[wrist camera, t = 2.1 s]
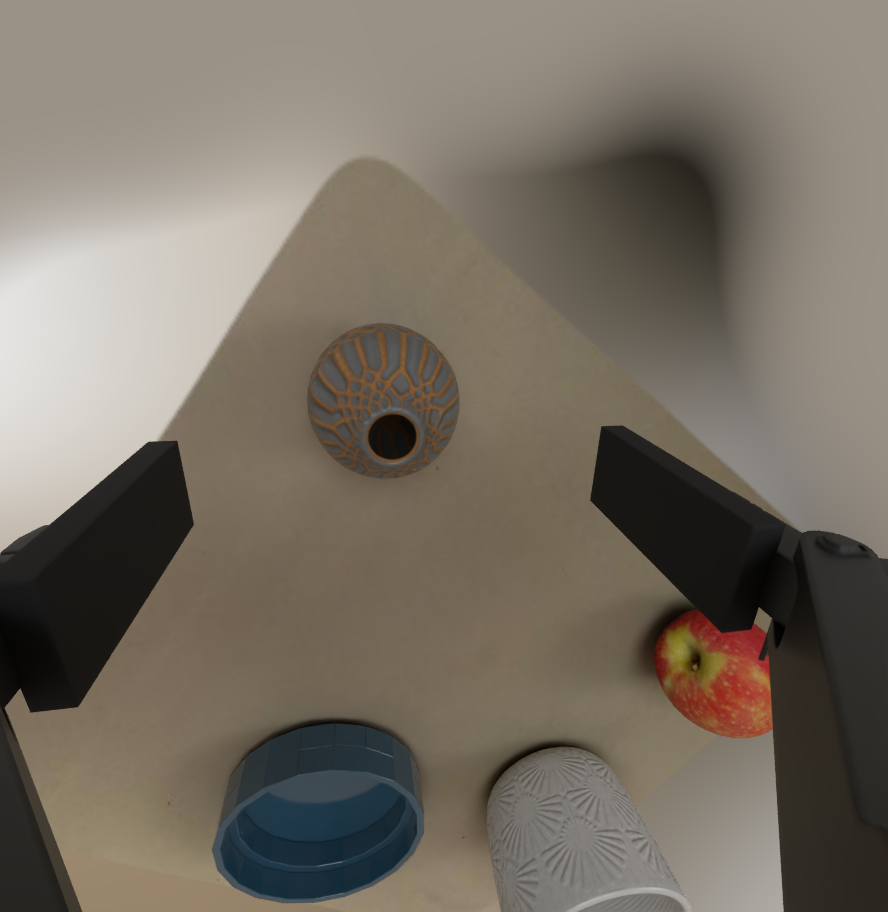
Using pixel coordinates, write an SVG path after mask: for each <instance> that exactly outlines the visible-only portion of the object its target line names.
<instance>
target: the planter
mask: <svg viewBox="0 0 888 912" xmlns="http://www.w3.org/2000/svg"><path fill="white" fill-rule="evenodd" d="M487 832H488V841H489V849H490V856H491V861H492V867H493V873H494V878H495V884H496V889H497V894H498V899H499V904H500V909H501V912H692V909H691V906H690V903H689V901H688V899H687V898H686V896H685V894H684V892H683V890H682V889H681V887H680V885H679V883H678V881H677V879H676V878H675V876H674V874H673V872H672V871H671V869H670V867H669V865H668V863H667V861H666V860H665V858H664V856H663V854H662V852H661V850H660V849H659V847H658V845H657V843H656V842H655V840H654V838H653V836H652V834H651V832H650V831H649V829H648V827H647V825H646V823H645V822H644V820H643V818H642V816H641V815H640V813H639V812H638V810H637V808H636V806H635V804H634V803H633V801H632V799H631V798H630V796H629V795H628V793H627V791H626V790H625V788H624V787H623V785H622V784H621V782H620V781H619V779H618V778H617V776H616V775H615V774H614V772H613V771H612V770H611V769H610V767H609V766H608V765H607V764H606V763H605V762H604V761H603V760H601V759H600V758H599V757H598V756H596V755H594V754H592V753H590V752H588V751H586V750H582V749H579V748H573V747H555V748H548V749H544V750H540V751H537V752H535V753H532V754H530V755H528V756H526V757H524V758H522V759H521V760H519V761H517V762H516V763H515V764H513V765H512V766H511V767H510V768H508V769H507V770H506V771H505V772H504V773H503V774H502V776H501V777H500V778H499V779H498V781H497V782H496V784H495V786H494V787H493V789H492V791H491V794H490V797H489V800H488V805H487Z"/></svg>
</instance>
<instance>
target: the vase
mask: <svg viewBox="0 0 888 912" xmlns="http://www.w3.org/2000/svg"><path fill="white" fill-rule="evenodd" d="M307 402H308V412H309V417H310V421H311V424H312V427H313V429H314V432H315V434H316V436H317V438H318V439H319V441H320V443H321V444H322V445H323V447H324V448H325V449H326V451H327V452H328V453H329V454H330V455H331V456H332V457H333V458H334V459H335V460H336V461H338V462H339V463H340V464H342V465H343V466H345V467H346V468H348V469H350V470H352V471H354V472H356V473H358V474H361V475H364V476H368V477H374V478H397V477H402V476H406V475H409V474H412V473H414V472H416V471H418V470H420V469H422V468H424V467H425V466H427V465H428V464H430V463H431V462H432V461H433V460H434V459H436V458H437V457H438V456H439V455H440V453H441V452H442V451H443V450H444V448H445V447H446V445H447V444H448V442H449V440H450V439H451V437H452V435H453V432H454V430H455V426H456V423H457V419H458V413H459V391H458V386H457V382H456V378H455V375H454V373H453V370H452V368H451V366H450V364H449V363H448V361H447V360H446V358H445V357H444V355H443V354H442V353H441V351H440V350H439V349H438V348H437V347H436V346H435V345H434V344H433V343H432V342H430V341H429V340H428V339H426V338H425V337H424V336H422V335H421V334H419V333H417V332H415V331H413V330H411V329H408V328H405V327H402V326H398V325H393V324H381V323H380V324H369V325H365V326H361V327H358V328H355V329H352V330H350V331H348V332H346V333H345V334H343V335H341V336H340V337H339V338H337V339H336V340H335V341H334V342H333V343H331V344H330V345H329V346H328V348H327V349H326V350H325V351H324V352H323V354H322V355H321V356H320V358H319V360H318V361H317V363H316V365H315V367H314V369H313V372H312V375H311V378H310V382H309V387H308V396H307Z"/></svg>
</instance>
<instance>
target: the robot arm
mask: <svg viewBox="0 0 888 912" xmlns="http://www.w3.org/2000/svg"><path fill="white" fill-rule="evenodd" d="M590 501H591V502H592V503H593V504H594V505H595V506H596V507H597V508H598V509H599V510H600V511H601V512H602V513H603V514H604V515H605V516H606V517H607V518H608V519H609V520H610V521H611V522H612V523H613V524H614V525H615V526H616V527H617V528H618V529H619V530H620V531H621V532H622V533H623V534H624V535H625V536H626V537H627V538H628V539H629V540H630V541H631V542H632V543H633V544H634V545H635V546H636V547H637V548H638V549H639V550H640V551H641V552H642V553H643V554H644V555H645V556H646V557H647V558H648V559H649V560H650V561H651V562H652V563H653V564H654V565H655V566H656V567H657V568H658V569H659V570H660V571H661V572H662V573H663V574H664V575H665V576H666V577H667V579H668V580H669V581H670V582H671V583H672V584H673V585H674V586H675V587H676V588H677V589H678V590H679V591H680V592H681V593H682V594H683V595H684V596H685V597H686V598H687V599H688V600H689V601H690V602H691V603H692V604H693V605H694V606H695V607H696V608H697V609H698V610H699V611H700V612H701V613H702V614H703V615H704V616H705V617H706V618H707V619H708V620H709V621H710V622H711V623H712V624H713V625H714V626H715V627H716V628H717V629H718V630H719V631H720V632H721V633H728V632H736V631H745V630H751V629H752V626H753V623H754V620H755V617H756V614H757V611H758V608H759V607H760V608H761V609H762V610H763V611H764V612H766V613H767V614H768V615H769V616H770V617H771V618H772V620H771V623H770V626H769V629H768V632H767V635H766V638H765V641H764V643H763V646H762V649H761V652H760V655H759V658H758V660H761V661H764V660H765V658H766V656H769V672H770V689H771V706H772V723H773V739H774V754H775V772H776V789H777V806H778V823H779V839H780V855H781V873H782V890H783V905H784V912H888V559H881V558H878V556H877V555H876V554H875V553H874V551H873V550H872V549H870V548H868V546H866V545H864V544H862V543H860V542H858V541H855V540H853V539H851V538H848V537H845V536H842V535H840V534H835V533H830V532H824V531H807V532H804V533H801V532H799V531H798V530H796V529H794V528H793V527H791V526H789V525H788V524H786V523H784V522H783V521H781V520H779V519H778V518H776V517H774V516H773V515H771V514H769V513H768V512H766V511H763V509H761V508H760V507H758V506H756V505H755V504H751V503H750V501H748V500H746V499H745V498H743V497H741V496H740V495H738V494H736V493H735V492H732V491H730V490H728V489H727V488H725V487H723V486H722V485H720V484H718V483H717V482H715V481H713V480H712V479H710V478H708V477H707V476H705V475H703V474H702V473H700V472H698V471H697V470H695V469H694V468H692V467H690V466H689V465H687V464H685V463H684V462H682V461H680V460H679V459H677V458H675V457H674V456H672V455H670V454H669V453H667V452H665V451H664V450H662V449H661V448H659V447H657V446H656V445H654V444H652V443H651V442H649V441H647V440H646V439H644V438H642V437H641V436H639V435H637V434H636V433H634V432H632V431H631V430H629V429H627V428H626V427H624V426H601V433H600V439H599V446H598V453H597V459H596V466H595V472H594V479H593V486H592V492H591V499H590ZM193 525H194V523H193V518H192V512H191V507H190V502H189V497H188V492H187V487H186V482H185V477H184V472H183V467H182V462H181V457H180V452H179V447H178V442H177V441H158V442H148V443H146V444H145V445H144V446H143V447H142V448H140V449H139V450H138V451H137V452H136V453H135V454H133V455H132V456H131V457H130V458H129V459H127V460H126V461H125V462H124V463H123V464H121V465H120V466H119V467H118V468H117V469H116V470H114V471H113V472H112V473H111V474H110V475H108V476H107V477H106V478H105V479H104V480H103V481H101V482H100V483H99V484H98V485H96V486H95V487H94V488H93V489H92V490H91V491H89V492H88V493H87V494H86V495H85V496H84V497H82V498H81V499H80V500H79V501H77V502H76V503H75V504H74V505H73V506H71V507H70V508H69V509H68V510H67V511H66V512H64V513H63V514H62V515H61V516H60V517H58V518H57V519H56V520H55V521H54V522H52V523H51V524H50V525H45V526H42V527H40V528H38V529H36V530H34V531H32V532H30V533H28V534H26V535H24V536H22V537H20V538H18V539H17V540H16V541H14V542H13V543H12V544H11V545H9V546H8V547H7V548H6V549H4V550H3V551H2V552H1V554H0V912H82V910H81V907H80V905H79V902H78V899H77V896H76V894H75V891H74V889H73V886H72V883H71V881H70V878H69V875H68V873H67V870H66V867H65V865H64V862H63V859H62V857H61V854H60V851H59V849H58V846H57V843H56V841H55V838H54V835H53V833H52V830H51V827H50V825H49V822H48V819H47V817H46V814H45V812H44V809H43V806H42V804H41V801H40V798H39V796H38V793H37V790H36V788H35V785H34V782H33V780H32V777H31V774H30V772H29V769H28V766H27V764H26V761H25V758H24V756H23V753H22V750H21V748H20V745H19V742H18V740H17V737H16V735H15V732H14V729H13V727H12V724H11V721H10V719H9V717H8V714H7V712H6V710H5V706H6V705H7V704H8V703H9V701H10V700H11V699H12V698H13V696H14V695H15V694H16V693H17V691H18V690H19V689H20V688H21V690H22V693H23V695H24V698H25V700H26V703H27V705H28V707H29V710H30V712H40V711H49V710H57V709H66V708H75V707H78V706H79V705H80V703H81V702H82V700H83V699H84V697H85V695H86V694H87V692H88V691H89V689H90V688H91V686H92V684H93V683H94V681H95V680H96V678H97V677H98V675H99V673H100V672H101V670H102V669H103V667H104V665H105V664H106V662H107V661H108V659H109V658H110V656H111V654H112V653H113V651H114V650H115V648H116V647H117V645H118V643H119V642H120V640H121V639H122V637H123V636H124V634H125V632H126V631H127V629H128V628H129V626H130V624H131V623H132V621H133V620H134V618H135V617H136V615H137V613H138V612H139V610H140V609H141V607H142V606H143V604H144V602H145V601H146V599H147V598H148V596H149V595H150V593H151V591H152V590H153V588H154V587H155V585H156V583H157V582H158V580H159V579H160V577H161V576H162V574H163V572H164V571H165V569H166V568H167V566H168V565H169V563H170V561H171V560H172V558H173V557H174V555H175V554H176V552H177V550H178V549H179V547H180V546H181V544H182V542H183V541H184V539H185V538H186V536H187V535H188V533H189V531H190V530H191V528H192V527H193Z"/></svg>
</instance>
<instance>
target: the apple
mask: <svg viewBox="0 0 888 912" xmlns="http://www.w3.org/2000/svg"><path fill="white" fill-rule="evenodd" d="M766 635H767V633H765V632H764V631H763V630H762V629H761V628H759V627H758V626H757V625H756V624H754V623H753V626H752V629H751V630H745V631H736V632H728V633H721V632H720V631H719V630H718V629H717V628H716V627H715V626H714V625H713V624H712V623H711V622H710V621H709V620H708V619H707V618H706V617H705V616H704V615H703V614H702V613H701V612H700V611H699V610H698V609H695V610H690V611H687V612H685V613H682V614H681V615H680V616H679V617H677V618H675V619H674V620H673V621H672V622H671V623H670V624H669V625H667V626H666V627H665V628H664V630H663V632H662V633H661V635H660V636H659V638H658V641H657V644H656V647H655V653H654V664H655V670H656V674H657V677H658V679H659V682H660V684H661V686H662V689H663V691H664V693H665V694H666V696H667V697H668V699H669V700H670V701H671V703H672V704H673V706H674V707H675V708H676V709H677V710H678V711H679V712H680V713H682V714H683V715H684V716H685V717H686V718H687V719H689V720H690V721H691V722H693V723H694V724H696V725H697V726H699V727H701V728H703V729H705V730H708V731H710V732H713V733H715V734H718V735H722V736H726V737H732V738H751V737H755V736H758V735H762V734H764V733H767V732H769V731H770V730H772V729H773V723H772V706H771V689H770V672H769V656H766V658H765V660H764V661H761V660H758V658H759V655H760V652H761V649H762V646H763V643H764V641H765V638H766Z"/></svg>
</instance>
